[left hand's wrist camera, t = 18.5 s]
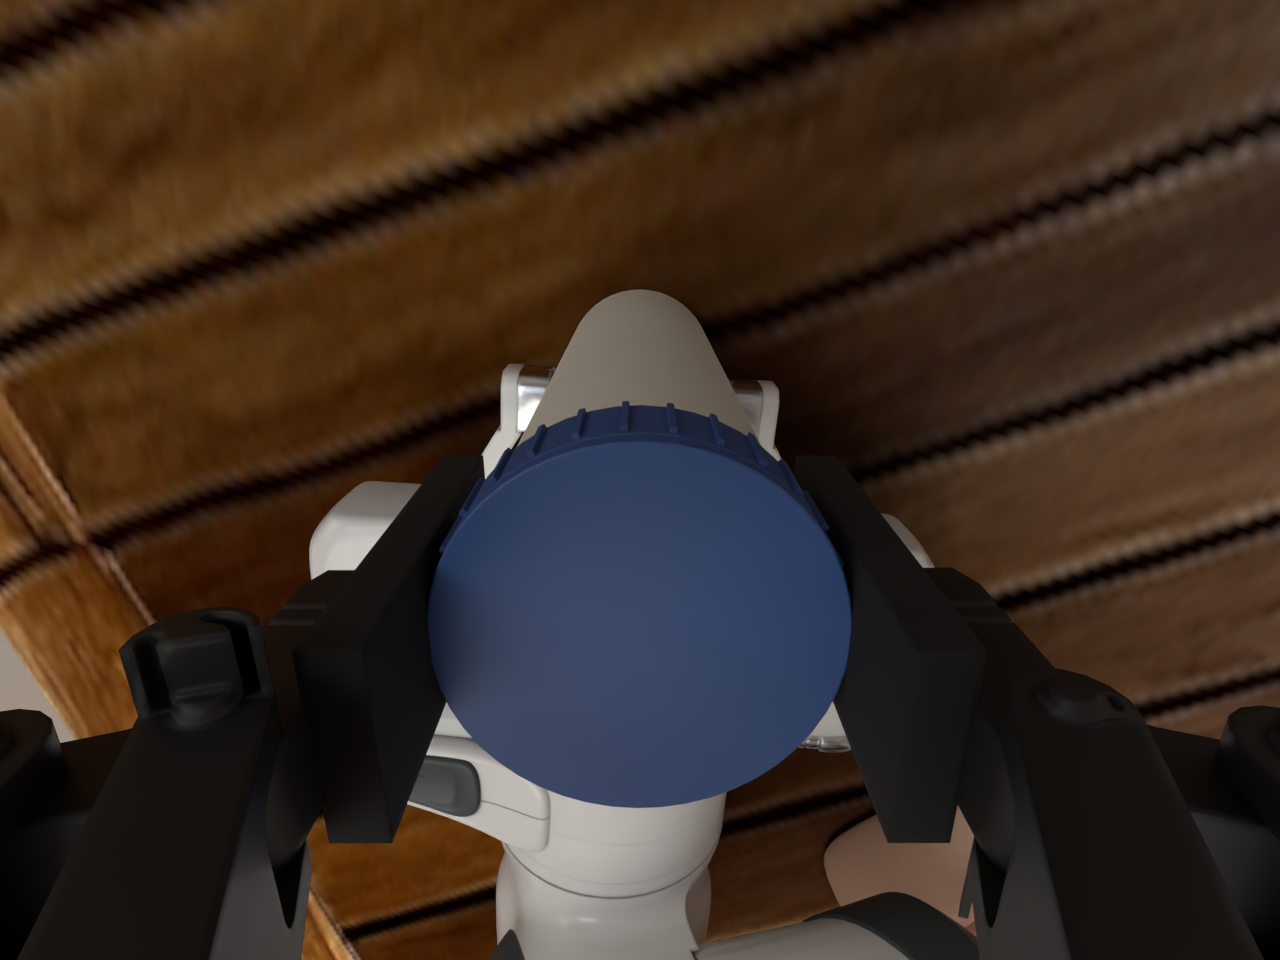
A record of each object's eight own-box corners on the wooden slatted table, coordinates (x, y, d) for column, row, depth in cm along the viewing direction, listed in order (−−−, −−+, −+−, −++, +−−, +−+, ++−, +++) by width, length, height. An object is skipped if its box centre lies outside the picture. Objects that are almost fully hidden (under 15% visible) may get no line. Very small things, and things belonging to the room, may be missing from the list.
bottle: (732, 322, 29) (893, 528, 10) (675, 446, 30) (728, 806, 12) (600, 266, 28) (526, 382, 10) (550, 397, 30) (409, 701, 11)
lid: (644, 311, 11) (644, 333, 9) (903, 584, 12) (947, 648, 10) (375, 577, 12) (330, 639, 10) (636, 788, 14) (636, 873, 12)
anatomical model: (800, 946, 35) (989, 807, 32) (785, 875, 39) (952, 744, 36) (978, 1065, 38) (1165, 948, 35) (948, 988, 42) (1115, 877, 39)
